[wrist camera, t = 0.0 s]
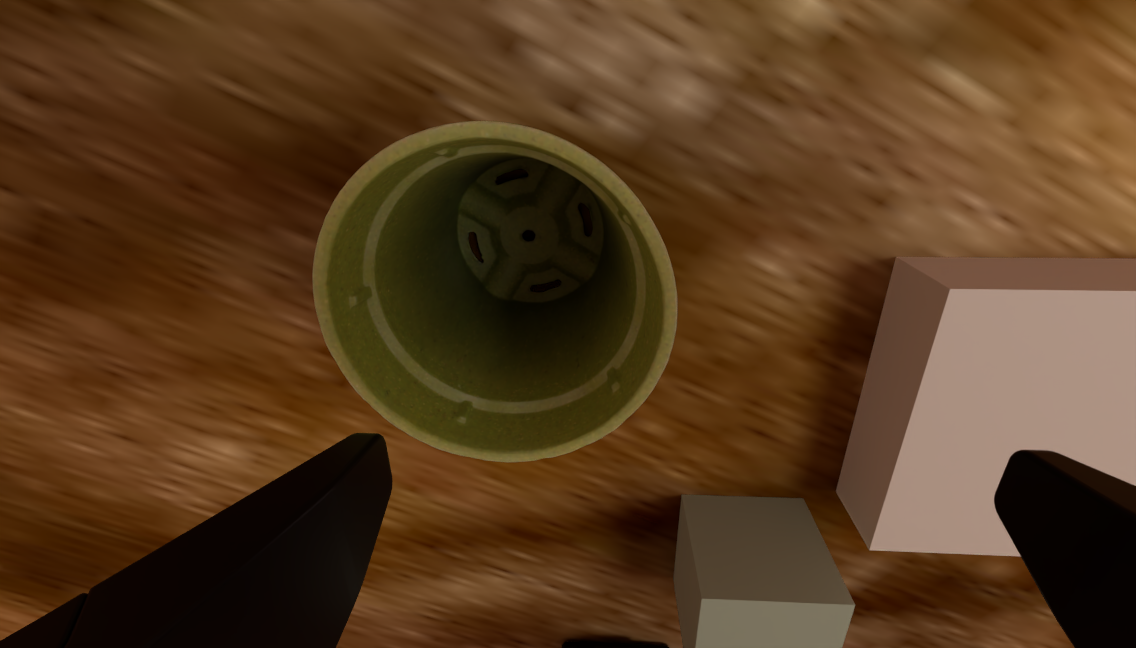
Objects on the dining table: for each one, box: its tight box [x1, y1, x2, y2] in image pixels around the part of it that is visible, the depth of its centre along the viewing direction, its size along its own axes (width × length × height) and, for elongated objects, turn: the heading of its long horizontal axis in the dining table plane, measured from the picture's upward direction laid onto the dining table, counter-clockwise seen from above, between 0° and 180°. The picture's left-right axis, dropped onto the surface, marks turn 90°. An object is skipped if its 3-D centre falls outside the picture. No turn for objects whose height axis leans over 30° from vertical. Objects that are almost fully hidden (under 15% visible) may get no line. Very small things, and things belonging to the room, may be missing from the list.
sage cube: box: [673, 495, 855, 648], centre depth 25 cm, size 6×6×6 cm
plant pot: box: [312, 121, 677, 462], centre depth 17 cm, size 9×9×9 cm
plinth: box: [836, 257, 1136, 556], centre depth 22 cm, size 12×10×4 cm
